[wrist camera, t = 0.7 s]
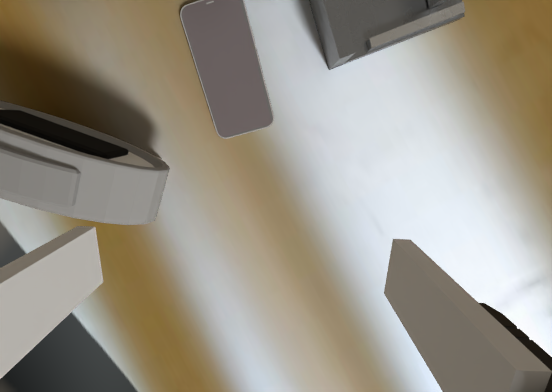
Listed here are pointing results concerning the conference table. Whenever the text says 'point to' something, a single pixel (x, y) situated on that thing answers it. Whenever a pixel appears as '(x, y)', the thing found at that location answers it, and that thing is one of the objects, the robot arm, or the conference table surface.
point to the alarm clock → (76, 169)
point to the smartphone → (228, 65)
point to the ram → (435, 2)
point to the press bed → (375, 24)
